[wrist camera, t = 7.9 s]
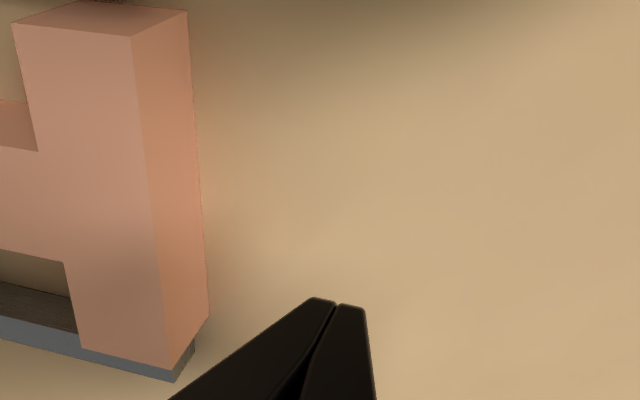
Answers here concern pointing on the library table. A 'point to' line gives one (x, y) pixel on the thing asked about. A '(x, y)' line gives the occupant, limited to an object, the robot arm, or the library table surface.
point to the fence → (63, 331)
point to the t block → (109, 173)
